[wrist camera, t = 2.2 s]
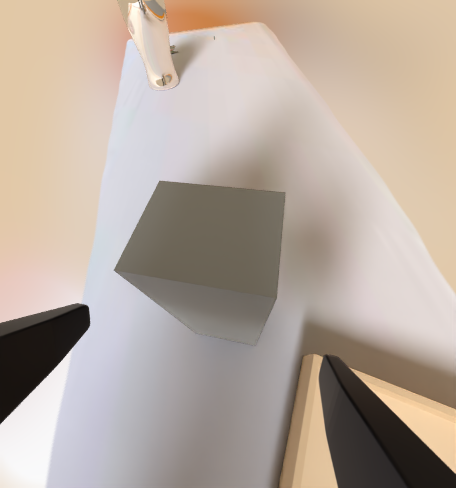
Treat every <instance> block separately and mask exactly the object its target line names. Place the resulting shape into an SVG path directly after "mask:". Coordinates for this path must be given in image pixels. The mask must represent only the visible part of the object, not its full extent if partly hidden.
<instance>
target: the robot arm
mask: <svg viewBox="0 0 456 488" xmlns="http://www.w3.org/2000/svg"><path fill="white" fill-rule="evenodd" d="M89 326H90V314H89V307H88V306H87V305H84V304H79V303H77V304H72V305H68V306H65V307H61V308H57V309H53V310H49V311H46V312H41V313H38V314H34V315H30V316H26V317H22V318H18V319H14V320H10V321H6V322H2V323H0V424H1V423H2V422H3V421H4V420H5V419H6V418H7V417H8V416H9V415H10V414H11V413H12V412H13V411H14V409H16V407H18V405H19V404H20V403H21V402H22V401H23V400H24V399H25V398H26V397H27V396H28V395H29V394H30V393H31V392H32V391H33V390H34V389H35V388H36V387H37V386H38V385H39V384H40V383H41V382H42V381H43V380H44V379H45V378H46V377H47V376H48V375H49V374H50V373H51V372H52V370H54V368H55V367H56V366H57V365H58V364H59V363H60V362H61V361H62V360H63V358H64V357H65V356H66V355H67V354H68V352H69V351H70V350H71V349H72V348H73V347H74V345H75V344H76V343H77V342H78V341H79V339H80V338H81V337H82V336H83V335H84V333H85V332H86V331H87V330H88V328H89ZM319 388H320V395H321V403H322V410H323V418H324V425H325V432H326V437H327V442H328V447H329V451H330V455H331V460H332V464H333V468H334V473H335V477H336V481H337V486H338V488H456V474H455V473H454V472H453V471H452V470H451V469H450V468H449V467H448V466H447V465H446V464H445V463H444V462H443V461H442V460H441V459H440V458H439V457H438V456H437V455H436V454H435V453H434V452H433V451H432V450H431V449H430V448H429V447H428V446H427V445H426V444H425V443H424V442H423V441H422V440H421V439H420V438H419V437H418V436H417V435H416V434H415V433H414V432H413V431H412V430H411V429H410V428H409V427H408V426H407V425H406V424H405V423H404V422H403V421H402V420H401V419H400V418H399V417H398V416H397V415H396V414H395V413H394V412H393V411H392V410H391V409H390V408H389V407H388V406H387V405H386V404H385V403H384V402H383V401H382V400H381V399H380V398H379V397H378V396H377V395H376V394H375V393H374V392H373V391H372V390H371V389H370V388H369V387H368V386H367V385H366V384H365V383H364V382H363V381H362V380H361V379H360V378H359V377H358V376H357V375H356V374H355V373H354V372H353V371H352V370H351V369H350V368H349V367H348V366H347V365H346V364H345V363H344V362H343V361H342V360H341V359H340V358H339V357H337V356H333V355H328V354H326V355H324V356H323V359H322V363H321V367H320V371H319Z"/></svg>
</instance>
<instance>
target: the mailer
mask: <svg viewBox="0 0 456 488" xmlns="http://www.w3.org/2000/svg"><path fill="white" fill-rule="evenodd" d="M322 359H323V357H322V356H319V355H316V354H310V355H306V356H303V360H302V365H301V370H300V376H299V381H298V386H297V392H296V397H295V402H294V408H293V413H292V418H291V424H290V429H289V434H288V440H287V445H286V450H285V456H284V461H283V466H282V472H281V477H280V482H279V488H338V486H337V481H336V477H335V473H334V468H333V464H332V460H331V455H330V451H329V447H328V442H327V437H326V432H325V425H324V418H323V410H322V403H321V395H320V388H319V371H320V367H321V363H322ZM350 369H351V370H352V371H353V372H354V373H355V374H356V375H357V376H358V377H359V378H360V379H361V380H362V381H363V382H364V383H365V384H366V385H367V386H368V387H369V388H370V389H371V390H372V391H373V392H374V393H375V394H376V395H377V396H378V397H379V398H380V399H381V400H382V401H383V402H384V403H385V404H386V405H387V406H388V407H389V408H390V409H391V410H392V411H393V412H394V413H395V414H396V415H397V416H398V417H399V418H400V419H401V420H402V421H403V422H404V423H405V424H406V425H407V426H408V427H409V428H410V429H411V430H412V431H413V432H414V433H415V434H416V435H417V436H418V437H419V438H420V439H421V440H422V441H423V442H424V443H425V444H426V445H427V446H428V447H429V448H430V449H431V450H432V451H433V452H434V453H435V454H436V455H437V456H438V457H439V458H440V459H441V460H442V461H443V462H444V463H445V464H446V465H447V466H448V467H449V468H450V469H451V470H452V471H453V472H454V473H455V474H456V409H454V408H451V407H449V406H446V405H443V404H441V403H438V402H436V401H433V400H431V399H428V398H426V397H423V396H421V395H418V394H416V393H413V392H410V391H408V390H405V389H403V388H400V387H398V386H395V385H393V384H390V383H388V382H385V381H382V380H380V379H377V378H375V377H372V376H370V375H367V374H365V373H362V372H360V371H357V370H355V369H352V368H350Z"/></svg>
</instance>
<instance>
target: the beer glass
mask: <svg viewBox="0 0 456 488" xmlns="http://www.w3.org/2000/svg"><path fill="white" fill-rule="evenodd" d="M117 1H118V4H119V7H120V10H121V12H122V15H123V18H124V21H125V23H126V25H127V27H128V30H129V32H130V34H131V36H132V38H133V41H134V43H135V45H136V47H137V49H138V51H139V53H140V55H141V58H142V60H143V63H144V66H145V69H146V74H147V79H148V84H149V87H150V88H151V89H153V90H157V91H162V90H168V89H171V88H173V87H175V86H176V85H177V84H178V83H179V78H178V76H177V73H176V70H175V68H174V65H173V61H172V57H171V51H170V42H169V31H168V23H167V15H166V9H165V4H164V0H117Z"/></svg>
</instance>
